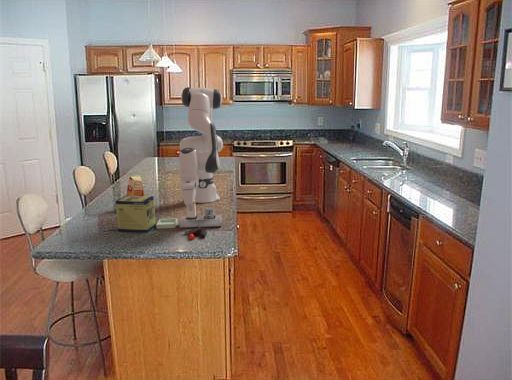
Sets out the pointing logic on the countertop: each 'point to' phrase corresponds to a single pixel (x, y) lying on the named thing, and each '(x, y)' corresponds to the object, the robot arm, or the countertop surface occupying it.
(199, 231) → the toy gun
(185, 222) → the grey box with openings
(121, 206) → the protein box
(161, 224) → the tray
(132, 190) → the milk carton
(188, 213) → the plug
